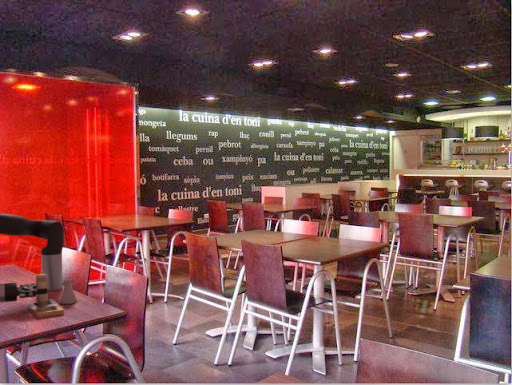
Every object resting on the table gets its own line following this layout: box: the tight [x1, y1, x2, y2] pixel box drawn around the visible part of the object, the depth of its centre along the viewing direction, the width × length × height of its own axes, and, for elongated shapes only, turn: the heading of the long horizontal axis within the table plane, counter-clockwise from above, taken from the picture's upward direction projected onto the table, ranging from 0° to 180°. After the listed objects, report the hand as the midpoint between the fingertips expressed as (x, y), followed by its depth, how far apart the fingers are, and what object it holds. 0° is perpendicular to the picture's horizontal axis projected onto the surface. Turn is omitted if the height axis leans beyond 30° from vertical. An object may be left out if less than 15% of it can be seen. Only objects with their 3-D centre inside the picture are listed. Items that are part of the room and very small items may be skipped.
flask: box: [59, 278, 78, 305], centre depth 219 cm, size 7×7×10 cm
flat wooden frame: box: [27, 298, 65, 320], centre depth 206 cm, size 19×10×2 cm, turn 35°
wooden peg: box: [35, 273, 49, 306], centre depth 210 cm, size 4×4×14 cm
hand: (47, 288), depth 211 cm, fingers open, 8 cm apart
